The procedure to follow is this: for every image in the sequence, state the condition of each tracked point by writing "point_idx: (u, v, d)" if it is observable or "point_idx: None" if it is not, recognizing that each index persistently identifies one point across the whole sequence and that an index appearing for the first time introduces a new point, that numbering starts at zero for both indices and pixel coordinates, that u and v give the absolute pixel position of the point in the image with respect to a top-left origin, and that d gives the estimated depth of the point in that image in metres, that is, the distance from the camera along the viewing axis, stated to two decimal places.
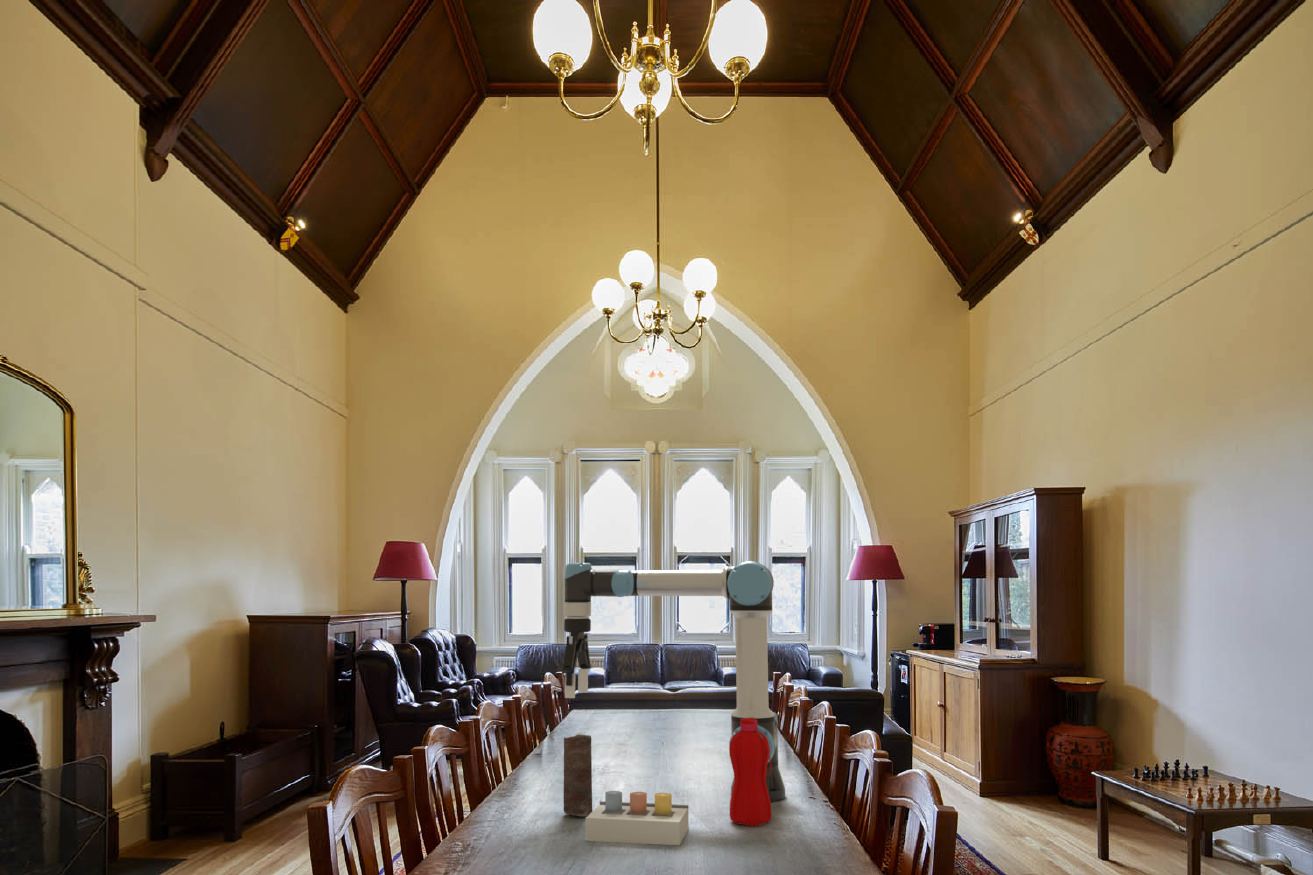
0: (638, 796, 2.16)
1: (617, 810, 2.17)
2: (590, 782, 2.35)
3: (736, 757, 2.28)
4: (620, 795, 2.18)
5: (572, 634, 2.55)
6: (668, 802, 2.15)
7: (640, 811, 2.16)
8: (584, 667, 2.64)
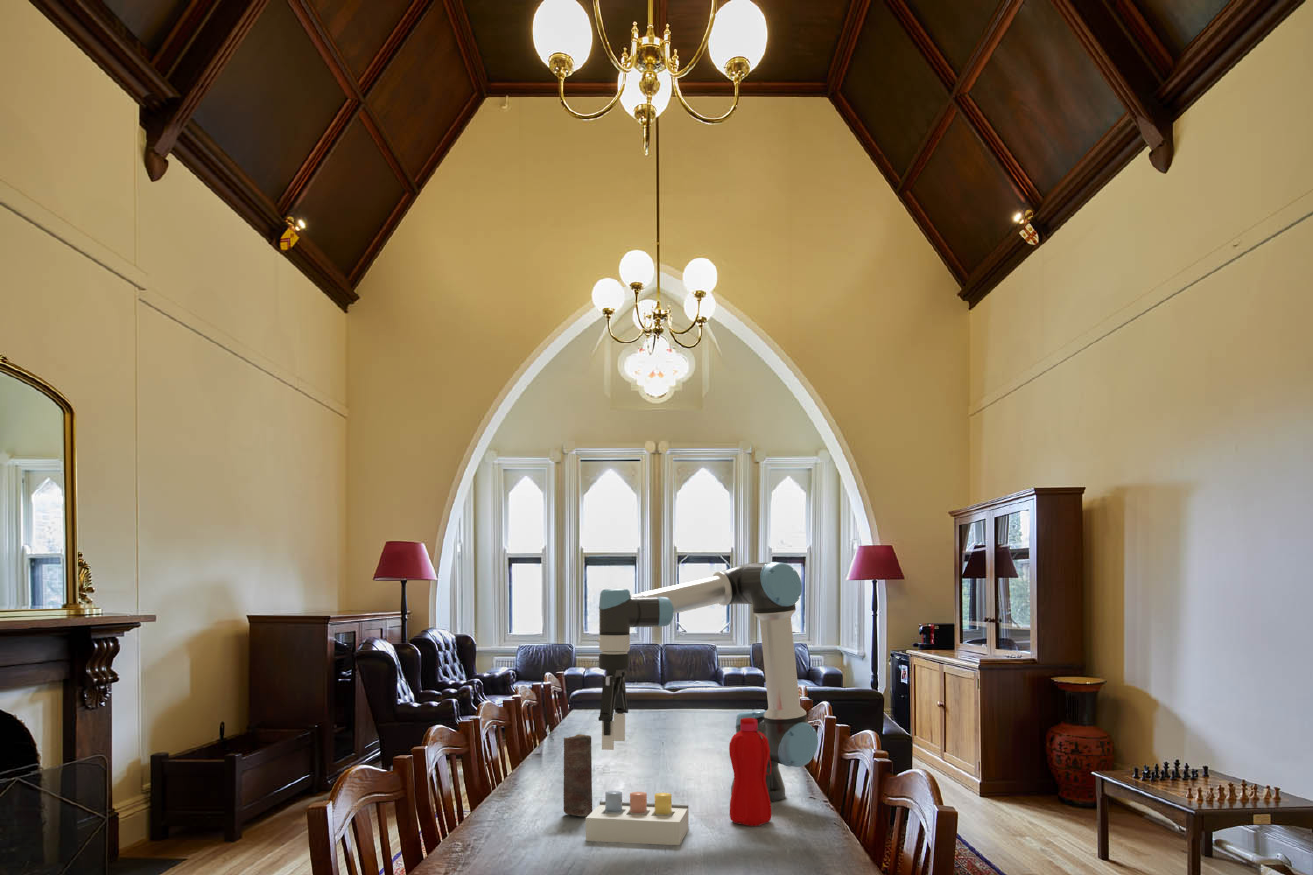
0: (638, 796, 2.16)
1: (617, 810, 2.17)
2: (590, 782, 2.35)
3: (736, 757, 2.28)
4: (620, 795, 2.18)
5: (609, 672, 2.20)
6: (668, 802, 2.15)
7: (640, 811, 2.16)
8: (620, 711, 2.28)
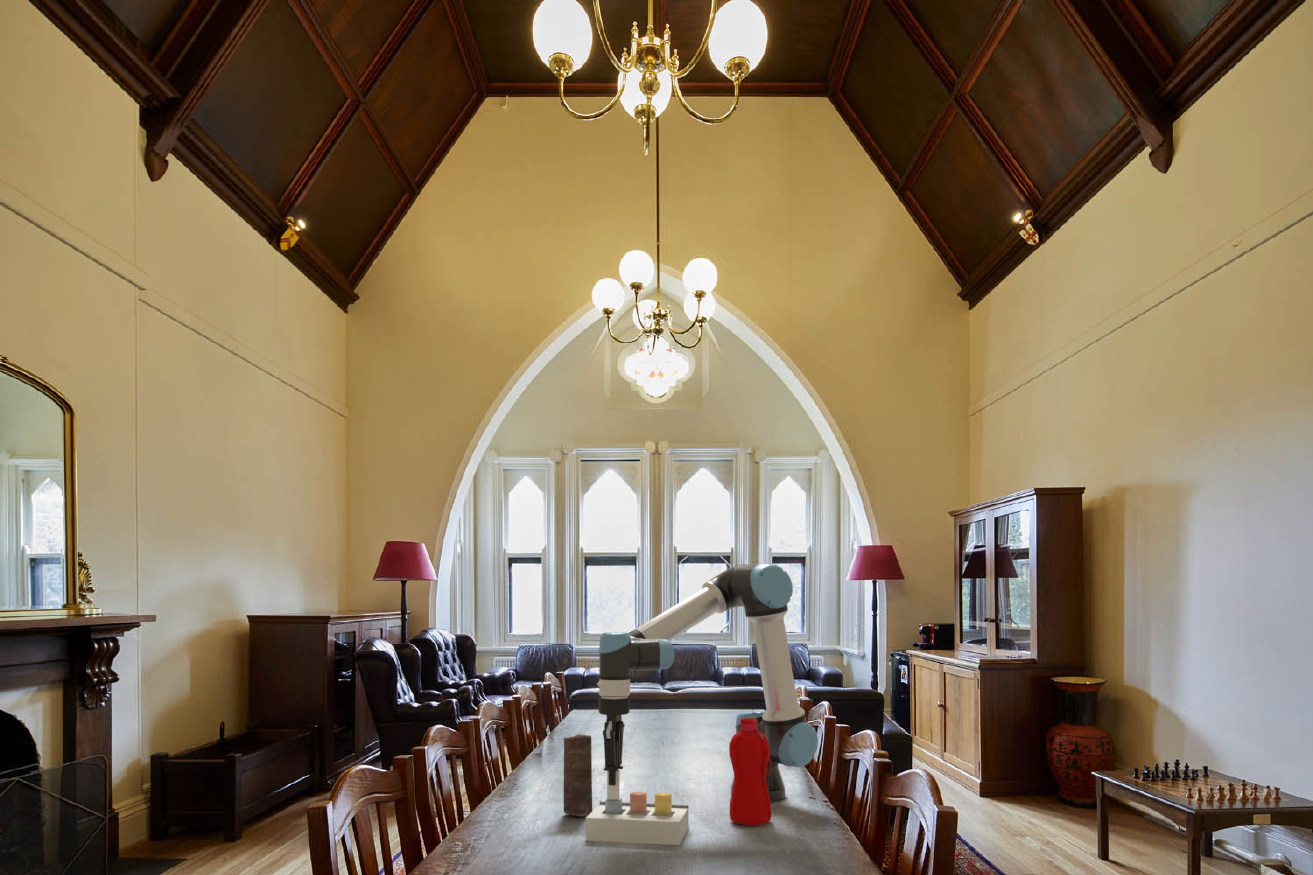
0: (638, 796, 2.16)
1: None
2: (590, 782, 2.35)
3: (736, 757, 2.28)
4: (620, 802, 2.18)
5: (609, 717, 2.18)
6: (668, 802, 2.15)
7: (640, 811, 2.16)
8: None
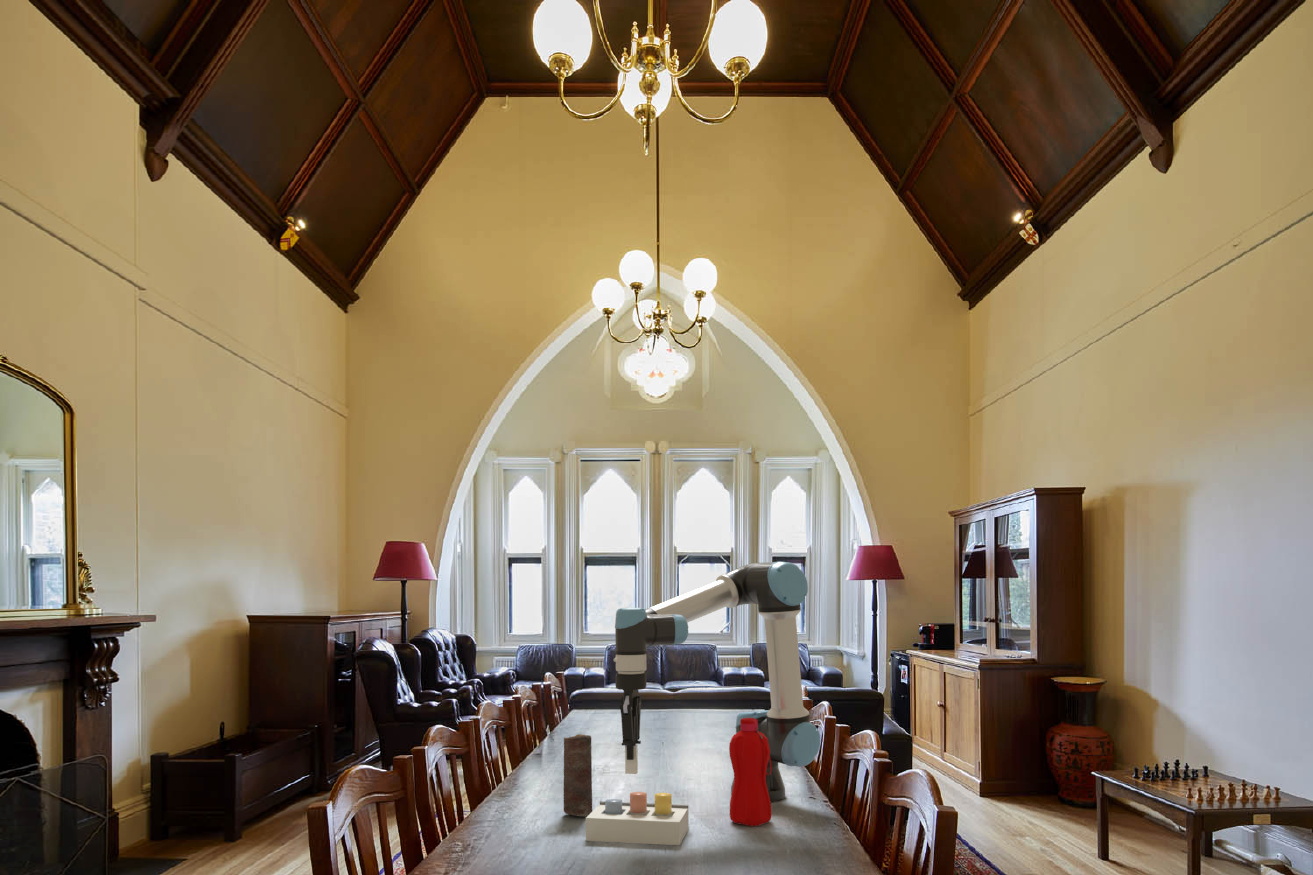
0: (638, 796, 2.16)
1: None
2: (590, 782, 2.35)
3: (736, 757, 2.28)
4: (620, 803, 2.18)
5: (625, 692, 2.19)
6: (668, 802, 2.15)
7: (640, 811, 2.16)
8: None
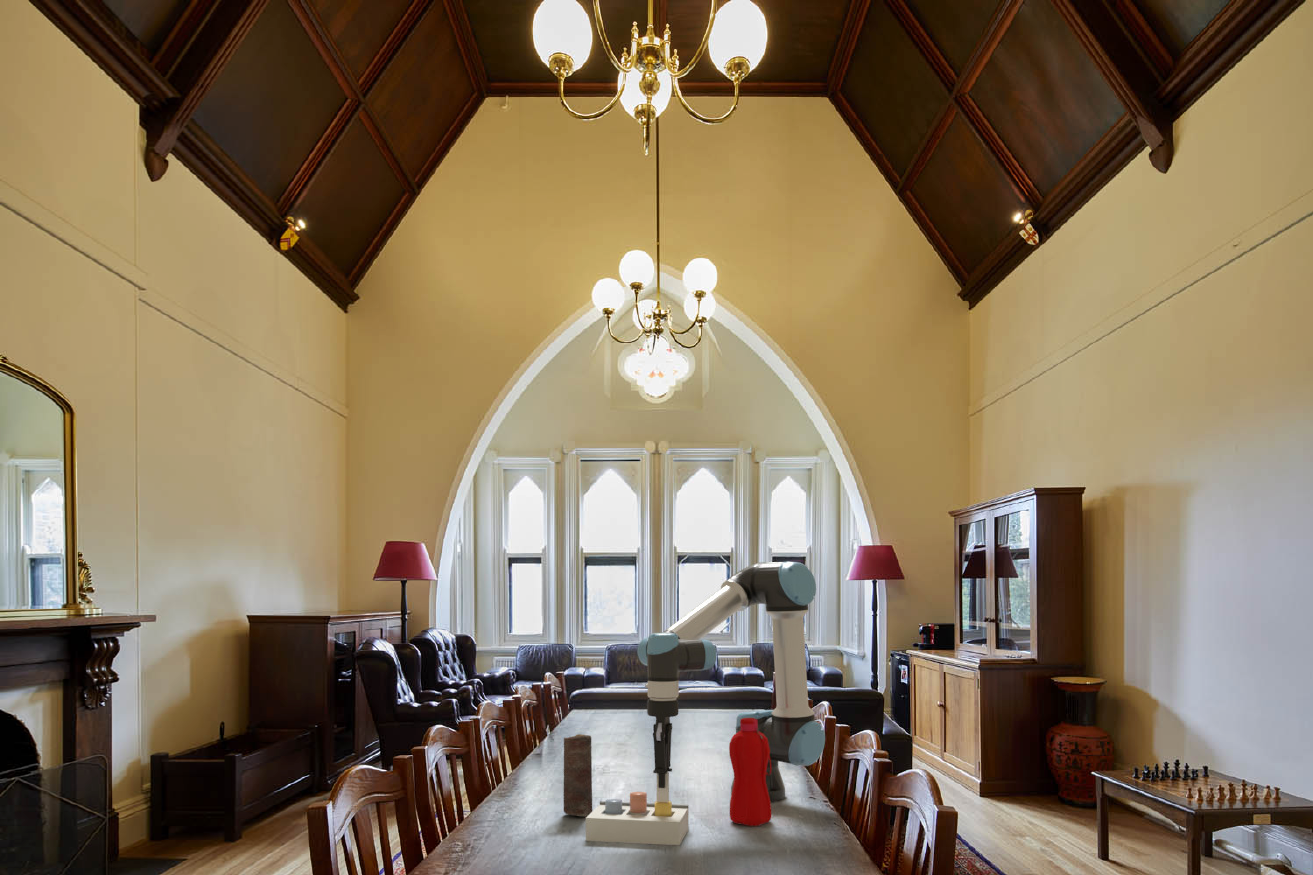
0: (638, 796, 2.16)
1: None
2: (590, 782, 2.35)
3: (736, 757, 2.28)
4: (620, 803, 2.18)
5: (658, 719, 2.16)
6: (668, 810, 2.15)
7: (640, 811, 2.16)
8: None
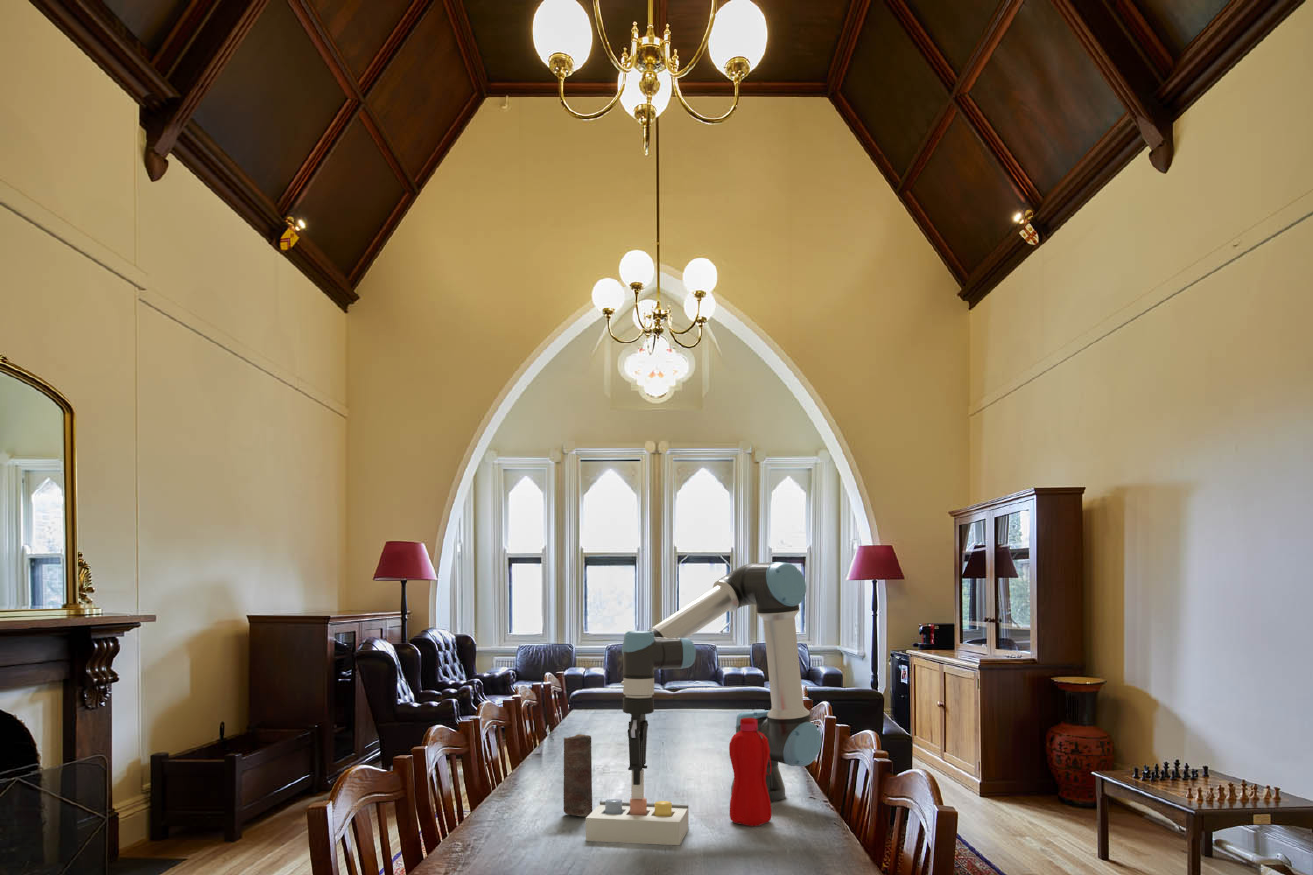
0: (638, 802, 2.16)
1: None
2: (590, 782, 2.35)
3: (736, 757, 2.28)
4: (620, 803, 2.18)
5: (633, 717, 2.17)
6: (668, 810, 2.15)
7: None
8: None
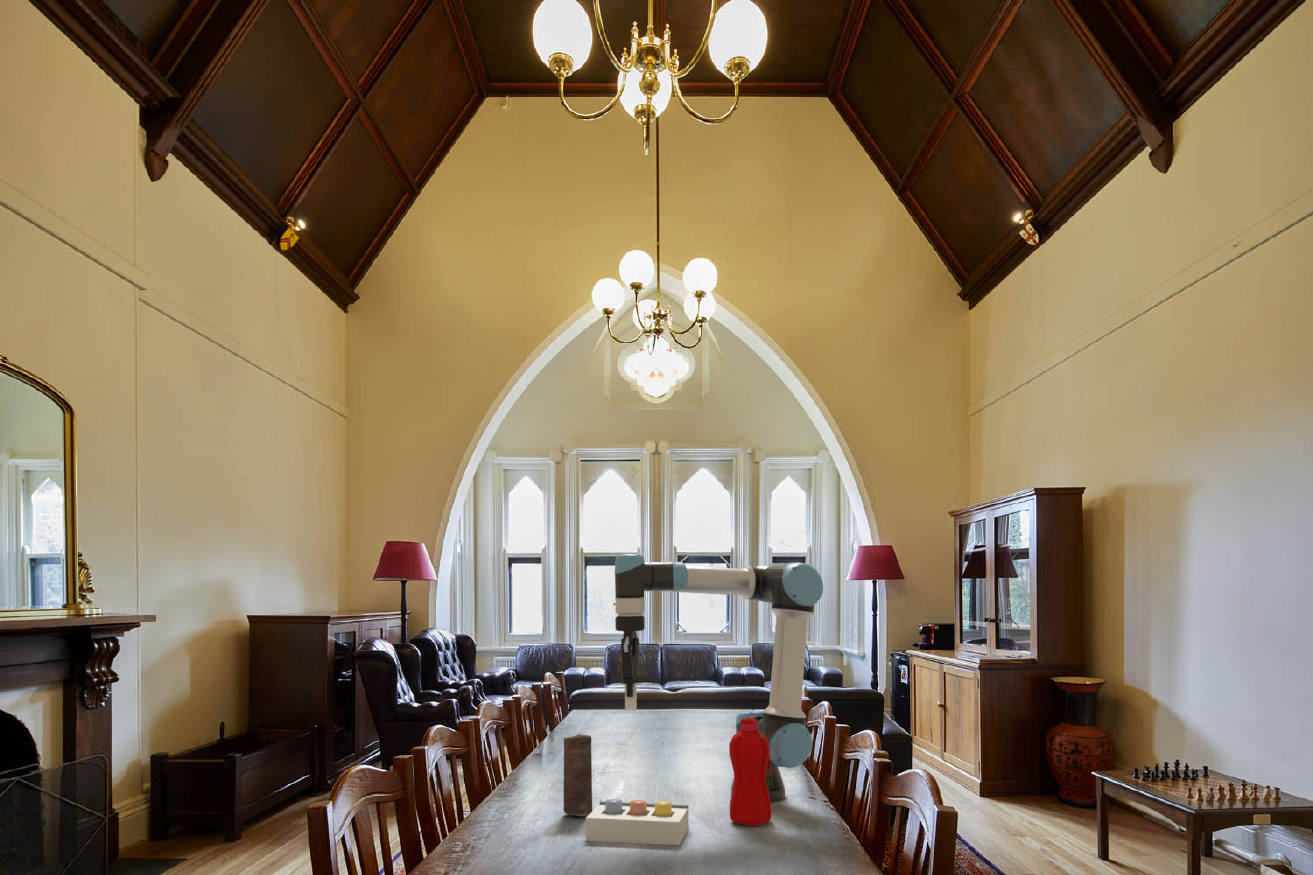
0: (638, 804, 2.16)
1: None
2: (590, 782, 2.35)
3: (736, 757, 2.28)
4: (620, 803, 2.18)
5: (625, 633, 2.31)
6: (668, 810, 2.15)
7: None
8: None
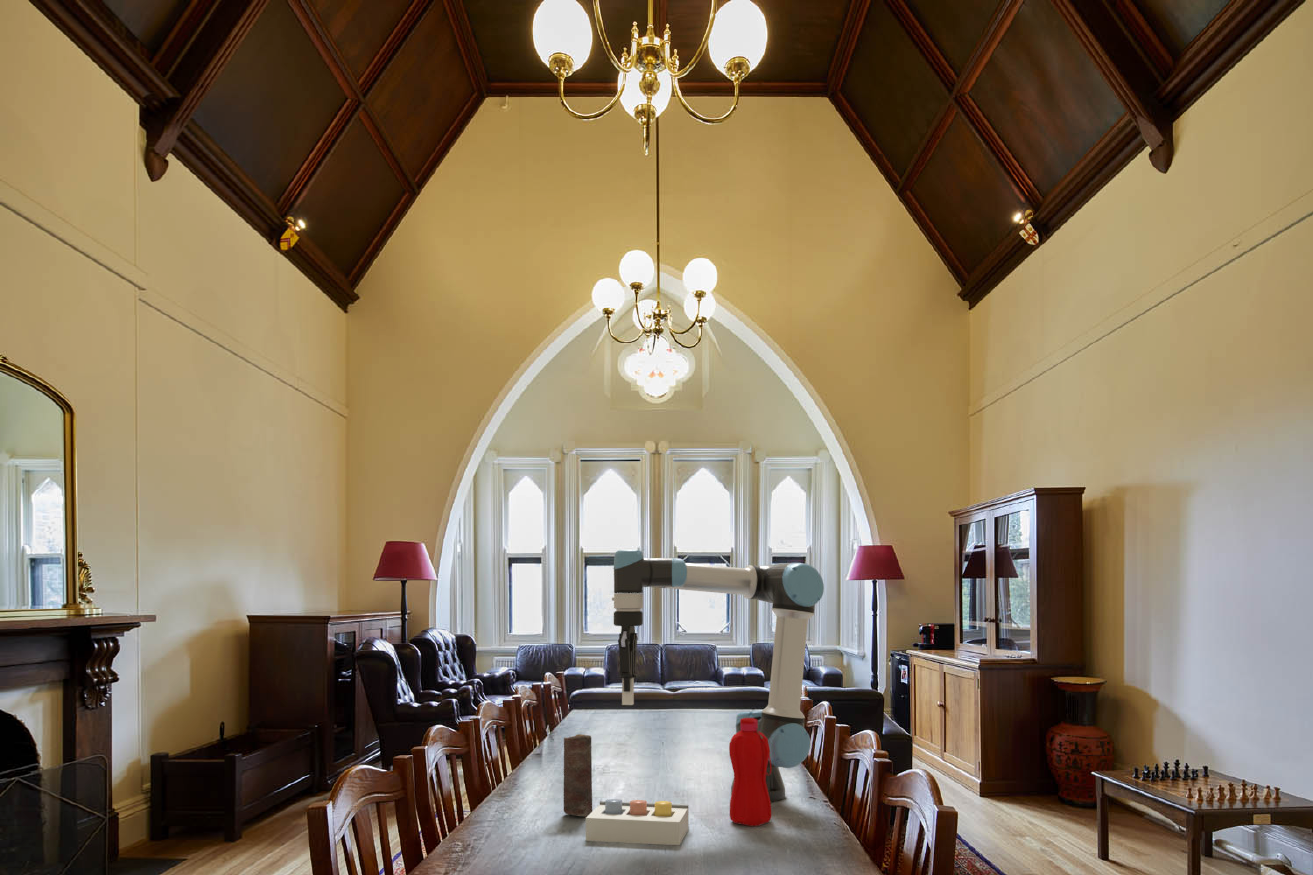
0: (638, 804, 2.16)
1: None
2: (590, 782, 2.35)
3: (736, 757, 2.28)
4: (620, 803, 2.18)
5: (623, 628, 2.32)
6: (668, 810, 2.15)
7: None
8: None
